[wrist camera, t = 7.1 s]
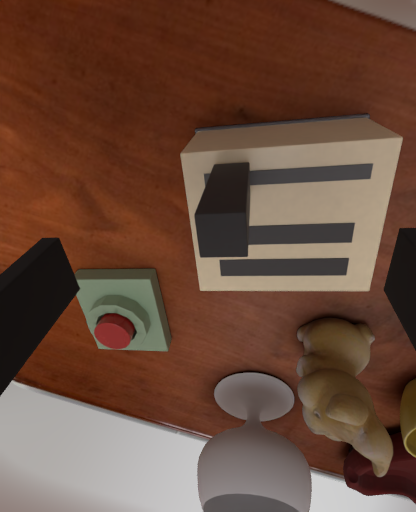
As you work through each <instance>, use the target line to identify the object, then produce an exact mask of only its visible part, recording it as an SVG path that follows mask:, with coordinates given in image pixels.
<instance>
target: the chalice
mask: <svg viewBox="0 0 416 512" xmlns="http://www.w3.org/2000/svg"><path fill="white" fill-rule="evenodd" d="M214 396H215V400H216V402H217V403H218V405H219V406H220V407H221V408H222V409H223V410H224V411H226V412H227V413H229V414H230V415H232V416H235V417H237V418H240V419H244V420H246V422H245V424H244V425H243V426H242V427H238V428H232V429H228V430H226V431H223V432H221V433H219V434H217V435H215V436H214V437H213V438H211V439H210V440H209V441H208V442H207V443H206V444H205V446H204V448H203V450H202V452H201V454H200V456H199V461H198V491H199V498H200V502H201V506H202V509H203V511H204V512H309V508H310V503H311V492H312V489H311V488H312V487H311V473H310V467H309V465H308V463H307V461H306V459H305V457H304V455H303V453H302V452H301V451H300V450H299V449H298V448H297V447H296V446H295V444H294V443H292V442H291V441H289V440H288V439H286V438H285V437H283V436H281V435H279V434H277V433H275V432H272V431H270V430H267V429H265V428H264V427H263V426H262V424H261V422H260V421H269V420H273V419H277V418H279V417H281V416H283V415H285V414H286V413H287V412H289V411H290V409H291V408H292V407H293V404H294V395H293V392H292V390H291V389H290V388H289V387H288V385H286V384H285V383H284V382H282V381H281V380H279V379H277V378H275V377H272V376H269V375H266V374H260V373H239V374H234V375H231V376H228V377H226V378H225V379H223V380H221V381H220V382H219V383H218V384H217V386H216V388H215V391H214Z"/></svg>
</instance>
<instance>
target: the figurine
mask: <svg viewBox="0 0 416 512" xmlns="http://www.w3.org/2000/svg"><path fill="white" fill-rule="evenodd" d="M297 338H298V340H299V341H301V342H303V344H304V348H305V350H304V355H303V356H302V357H301V358H300V359H299V361H298V364H297V368H296V371H297V374H298V375H299V376H300V377H303V378H302V379H301V380H300V381H299V383H298V387H297V390H298V395H299V398H300V400H301V401H302V403H303V407H302V412H303V417H304V420H305V422H306V424H307V426H308V427H309V429H310V430H311V431H312V432H313V433H315V434H322V435H326V436H327V437H328V438H330V439H332V440H335V441H344V442H347V443H349V444H351V445H352V446H353V447H354V448H355V450H357V451H358V452H359V453H360V454H362V455H363V456H364V457H366V458H368V459H370V460H371V461H372V466H373V471H374V473H375V475H376V476H377V477H382V476H384V475H385V474H386V473H387V471H388V468H389V465H390V462H391V459H392V456H393V445H392V441H391V438H390V436H389V434H388V432H387V431H386V429H385V427H384V426H383V424H382V423H381V421H380V420H379V419H378V417H377V415H376V413H375V410H374V406H373V402H372V399H371V396H370V394H369V392H368V391H367V389H366V388H365V387H364V385H363V384H362V383H361V382H360V381H359V380H358V379H356V378H355V376H356V375H358V374H359V373H360V372H361V371H362V370H363V369H364V368H365V367H366V365H367V364H368V362H369V359H370V344H371V343H372V342H373V341H374V340H375V337H374V335H373V333H372V331H371V330H370V328H369V327H368V326H366V325H364V324H356V325H353V324H351V323H350V322H348V321H346V320H343V319H339V318H322V319H318V320H315V321H312V322H310V323H308V324H306V325H304V326H302V327H300V328H299V329H298V331H297Z"/></svg>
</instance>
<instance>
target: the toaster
mask: <svg viewBox="0 0 416 512" xmlns="http://www.w3.org/2000/svg"><path fill="white" fill-rule="evenodd" d="M369 118H370V114H368V113H366V114H355V115H343V116H331V117H320V118H308V119H296V120H285V121H273V122H261V123H250V124H238V125H226V126H215V127H203V128H196V129H195V136H194V137H193V138H192V139H191V141H190V142H189V143H188V144H187V146H186V147H185V148H184V150H183V151H182V152H181V154H180V155H181V162H182V169H183V176H184V183H185V190H186V196H187V203H188V210H189V217H190V224H191V231H192V237H193V244H194V251H195V258H196V265H197V272H198V279H199V285H200V291H369V289H370V284H371V280H372V275H373V271H374V266H375V262H376V257H377V253H378V248H379V244H380V239H381V235H382V230H383V226H384V221H385V217H386V212H387V208H388V203H389V199H390V194H391V189H392V185H393V180H394V176H395V171H396V167H397V162H398V158H399V153H400V149H401V144H402V140H403V137H401V136H400V135H398V134H396V133H394V132H392V131H390V130H389V129H387V128H385V127H383V126H381V125H379V124H378V123H376V122H374V121H372V120H370V119H369ZM243 162H249V163H250V220H249V245H248V257H211V258H201V257H200V254H199V247H198V240H197V232H196V225H195V218H194V214H195V212H196V209H197V206H198V204H199V201H200V199H201V196H202V194H203V191H204V189H205V186H206V184H207V181H208V178H209V176H210V173H211V171H212V168H213V166H214V164H228V163H243Z"/></svg>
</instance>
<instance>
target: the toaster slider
mask: <svg viewBox="0 0 416 512" xmlns="http://www.w3.org/2000/svg"><path fill="white" fill-rule="evenodd" d="M194 218H195V225H196V232H197V240H198V247H199V254H200V257H201V258H211V257H248V245H249V220H250V163H249V162H243V163H228V164H214V166H213V168H212V171H211V173H210V176H209V178H208V181H207V184H206V186H205V189H204V191H203V194H202V196H201V199H200V201H199V204H198V206H197V209H196V212H195V214H194Z"/></svg>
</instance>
